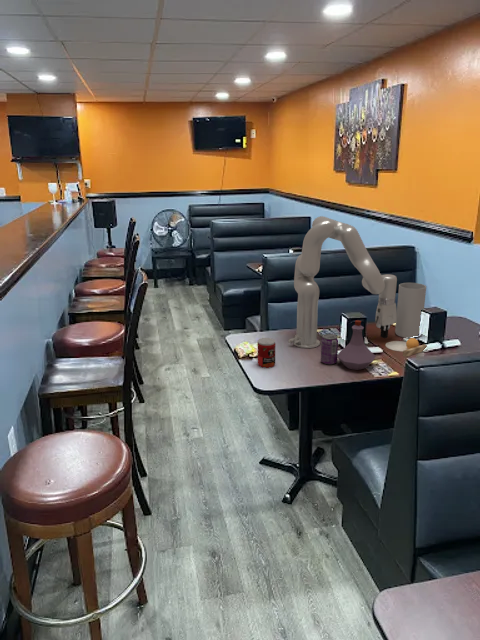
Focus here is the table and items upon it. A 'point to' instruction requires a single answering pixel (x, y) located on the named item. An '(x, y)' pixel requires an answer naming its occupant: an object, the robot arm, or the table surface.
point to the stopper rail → (414, 350)
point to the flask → (356, 350)
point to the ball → (412, 343)
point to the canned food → (266, 352)
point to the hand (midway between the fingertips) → (384, 337)
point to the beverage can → (329, 349)
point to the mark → (397, 345)
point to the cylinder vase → (409, 309)
